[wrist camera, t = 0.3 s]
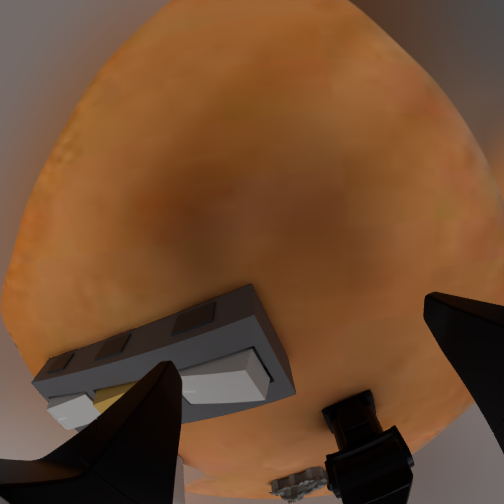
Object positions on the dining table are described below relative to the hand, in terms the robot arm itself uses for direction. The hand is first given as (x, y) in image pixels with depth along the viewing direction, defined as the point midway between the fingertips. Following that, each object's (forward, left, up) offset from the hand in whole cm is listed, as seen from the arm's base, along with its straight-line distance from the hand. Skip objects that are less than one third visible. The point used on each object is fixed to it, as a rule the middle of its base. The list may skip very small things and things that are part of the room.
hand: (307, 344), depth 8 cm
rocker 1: (-8, +26, -10) cm, 29 cm away
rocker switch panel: (-8, +17, -14) cm, 23 cm away
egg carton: (-44, +11, -14) cm, 47 cm away
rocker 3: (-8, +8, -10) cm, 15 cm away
